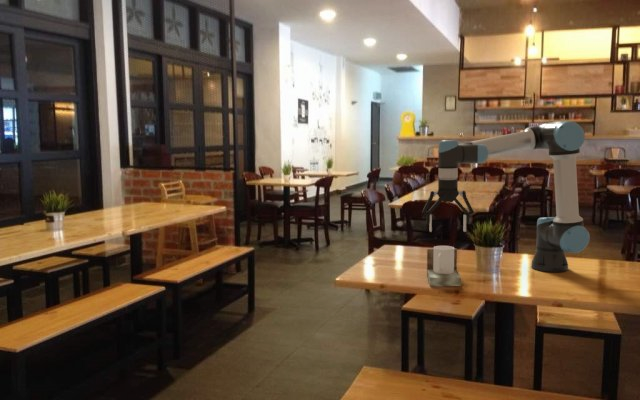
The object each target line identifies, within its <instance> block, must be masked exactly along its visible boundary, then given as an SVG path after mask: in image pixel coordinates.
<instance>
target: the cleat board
mask: <svg viewBox="0 0 640 400" xmlns="http://www.w3.org/2000/svg"><path fill="white" fill-rule="evenodd" d="M426 249H427V250H426V278H427V281H428V283H429V284H428V285H429V287H443V286H462V278H461V275H460V273H459V271H458V270H457V269H458V268H457V267H458V266H457V262H458V260H457V259H458V249H457V248H455V247H454V272H453V273H452V274H437V273H435V272H434V271H433V254H434V247H427V248H426Z"/></svg>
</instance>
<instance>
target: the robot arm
mask: <svg viewBox="0 0 640 400" xmlns="http://www.w3.org/2000/svg"><path fill="white" fill-rule="evenodd" d="M584 142H585V131H584V129H583V128H582V126H581V125H579V124H578V123H577V122H574V121H570V120H561V121H549V122H544V123H541V124H539V125H534V126H530V127H526V128H525V129H524V130H522V131H518V132H513V133H507V134H502V135H498V136H492V137H488V138H484V139H483V138H482V139H479V140H473V141H472V140H471V141H468V142H463V143H459V141H458V140H456V139H446V140H445V139H442V140H440V141H439V143H438V151H437V152H438V181H437V184H438V185H437V186H438V187H437V188H438V189H437V191H434V190H430V193H429V197H428V199H427V201H426V203H425V204H424V207H423V209H422V211H421V213H422V214H423V215H425V216H426V223H427V224H428V225H429V227H428V229H429V232H430V233H432V231H433V227H432V225H433V224H432V223H433V222H432V221H433V215H432V213H433V212H434V211H435V210H436V208H437V207H438V206H439V205H441V203H442V202H443V203H453V202H454V203H456V205H457V206H458V207H459V209H461V211H463V213H464V214H463V220H462V221H463V223H462V224H463V226H462V227H463V229H462V230H463V232H464V233H466V232H467V224H469V223H470V215H472V214H474V213H475V211H474V209H473V206H471V203H470V201H469V199H468V197H467V192H466V191H465V190H461V191H459V189H458V181H459V180H458V177H459V176H458V175H459V173H458V172H459V171H458V170H459V169H458V168H459V164H460V165H461V164H483V163H485V162H486V161H487V160H488V157H490V156H496V155H501V154H502V155H503V154H507V153H511V152H515V151H516V152H518V151H521V150H526V149H527V150H528V151H532V150H543V149H544V150H546V149H547V150H548V156H549V157H550V158H551V159H552V160H553V179H554V180H553V181H554V182H553V183H554V196H555V197H554V198H555V214H556V216H547V217H544V216H543V217H539V218H538V219H537V221H536V244H535V245H536V249H535V252H534V255H533V258H532V260H531V269H533V270H535V271H541V272H547V273H548V272H549V273H563V272H567V271H569V263H568V260H567V256H566V254H565V252H566V253H570V254H571V253H572V254H576V253H577V254H578V253H580V252H582V251H583V250H585V249H586V247H587V246H588V245H589V242H590V239H591V237H590V232H589V231H588V229H587V228H586V227H584V218H583V217H581V216H580V212H579V210H580V209H579V208H580V207H579V193H578V175H577V171H578V170H577V157H578V156H579V155H580V154H581V152H580V148H582V145H583V144H584ZM436 196H438V199H437V200H436V201H435V202H434V203H433V205H432V206H431V207H430V205H431V203H432V201H433V199H434V197H436ZM458 196H460V197H462V199H463V200H464V201H463V202H464V203H465V205H466V207H467V209H466V208H465V207H464V205H463V204H462V203H461V202H460V201H459V199H457V197H458Z"/></svg>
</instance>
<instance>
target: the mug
mask: <svg viewBox="0 0 640 400" xmlns="http://www.w3.org/2000/svg"><path fill="white" fill-rule="evenodd" d="M433 248H434V254H433V271H434V272H435V273H437V274H452V273H453V272H454V248H455V247H454V246H450V245H436V246H435V245H434V246H433Z"/></svg>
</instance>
